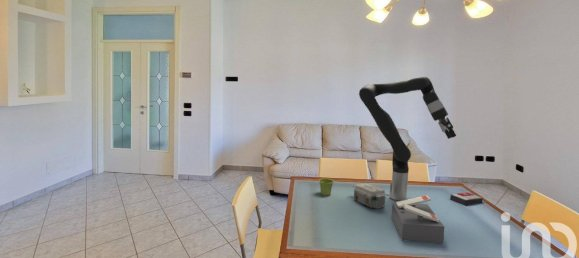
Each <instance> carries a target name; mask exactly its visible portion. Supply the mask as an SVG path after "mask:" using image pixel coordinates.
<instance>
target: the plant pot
mask: <svg viewBox="0 0 579 258" xmlns="http://www.w3.org/2000/svg"><path fill="white" fill-rule="evenodd" d="M318 182H319V187H320V194H321V195H322V196H325V195H326V196H330V195H331V193H332V188H333V184H334V180H333V179H331V178H320V179H319V180H318Z"/></svg>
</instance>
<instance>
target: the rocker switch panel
mask: <svg viewBox="0 0 579 258" xmlns="http://www.w3.org/2000/svg"><path fill="white" fill-rule="evenodd" d="M396 202H397V201H392V202H391V203H392V204H391V213H390V214H391V215H390V216H391V219H392V222H393V223H394V225H395V228H396V231H397V232H398V236H399V237H401V238H400V239H402V240H401V241H404V240H409V241H408V242H417V241H419V243H432V244H444V237H445V227H446V226H445V225H444V223H443V222H442V221H441V220H440V221H439V222H436V221H434V220H431V219H428V218H426V217H423V216H420V215H418V214H415V213H412V212H410V211H407V210H405V209H404V207H402V208H398V206H397V204H396ZM410 206H412V207H415V208H417V209H420V210H423V211H425V212H428V213H431V214H433V215H436V213H435V212H434V211H433V209H432V208H431V207H430V205H429V204H428V203H426V204H425V203H419V204H415V205H410ZM436 217H437V218H438V219H439V217H438V216H437V215H436Z"/></svg>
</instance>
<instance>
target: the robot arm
mask: <svg viewBox="0 0 579 258" xmlns="http://www.w3.org/2000/svg"><path fill="white" fill-rule="evenodd" d="M358 91H359V92H358V95H359V98H360V100H361V102H362V103H363V105H364V106H365V108H366V109H367V110H368V111H369V113H370V115H371V117H372V118H373V120H374V122H375V123H376V125H377V127H378V129H379V131H380V132H381V134H382V135H383V137H384V138H385V140H387V142H388V143H389V145H390V146H391V149H392V151H393V152H392V162H391V163H392V174H391V176H392V177H391V182H390V183H389V184H390V185H389V195H390V196H388V197H389V198H390V199H392V200H394V201H397V202H399V201H403V200H407V197H408V196H407V195H408V182H409V160H410V159H411V156H412V152H411V150H410V149H409V148H408V146H407V145H406V143H405V141H404V140H403V139H402V137H401V135H400V132H399V129H398V128H397V126H396V124H395V122H394V120H393V118H392V117H391V115H390V114H389V113H388V112H387V111H386V110H385V109H384V108H382V107H381V106H380V105H379V103H378V100H377V99H376V97H378V96H381V95H386V94H393V95H394V94H395V95H396V94H397V95H398V94H404V93H409V92H414V91H416V92H417V91H420V92H421V93H422V100H423V101H424V103H425V105H426V107H427V110H428V112H429V113H430V115H431V118H432V119H433V120H434V122H437V121H438V122H437V123H438V125H439V127H440V129H441V131H442V133H444V134H445V136H446V138H447V139H448V140H449V139H452V138H455V137H457V133H456V132H455V130H454V126H453V124H452V122H451V120H450V119H449V117H447V116H448V115H449V113H448V111H447V110H446V108H445V106H444V104H443V101H441V100H440V97H438V94H437V92H436V90H435V88H434V86H433V82H432V81H431V79H430V78H429V77H427V76H417V77H413V78H409V79H402V80H397V81H392V82H384V83H367V84H366V85H364V86H363V87H362V88H360V89H359V90H358Z"/></svg>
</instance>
